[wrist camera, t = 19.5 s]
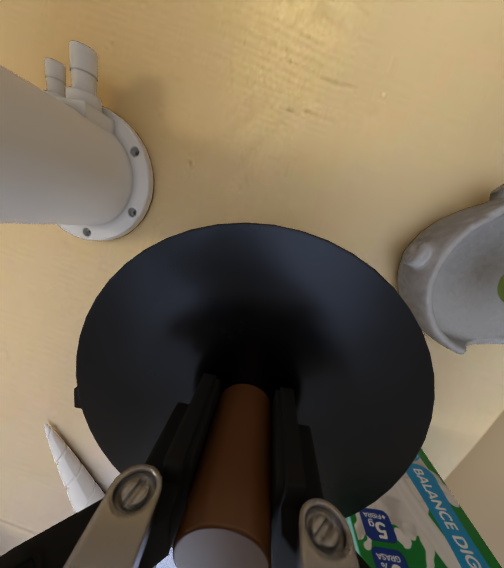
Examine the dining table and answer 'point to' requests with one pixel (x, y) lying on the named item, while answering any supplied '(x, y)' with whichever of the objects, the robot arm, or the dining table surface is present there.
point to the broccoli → (501, 288)
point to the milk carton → (418, 526)
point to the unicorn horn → (73, 473)
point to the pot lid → (256, 374)
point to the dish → (458, 276)
